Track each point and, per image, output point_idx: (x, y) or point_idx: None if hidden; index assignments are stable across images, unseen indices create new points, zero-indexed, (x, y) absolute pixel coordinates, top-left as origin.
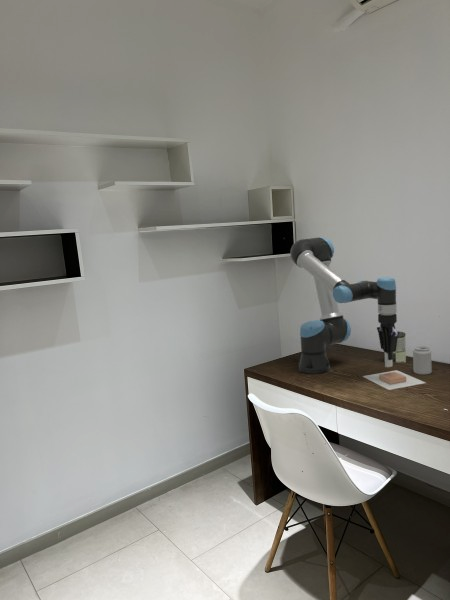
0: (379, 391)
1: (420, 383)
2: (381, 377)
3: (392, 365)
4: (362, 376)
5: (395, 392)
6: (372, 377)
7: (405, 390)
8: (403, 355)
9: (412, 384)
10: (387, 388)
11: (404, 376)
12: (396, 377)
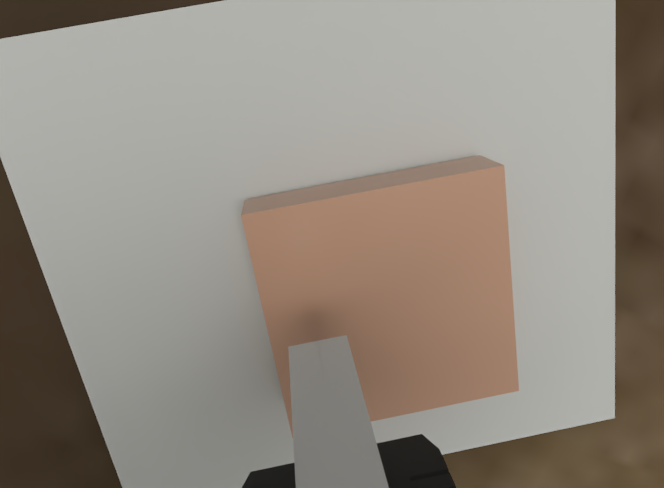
0: (569, 479)
1: (604, 22)
2: None
3: (347, 342)
4: None
5: (656, 368)
6: (202, 440)
7: (657, 263)
8: None
9: (588, 133)
10: (576, 417)
11: (485, 184)
12: (478, 295)
